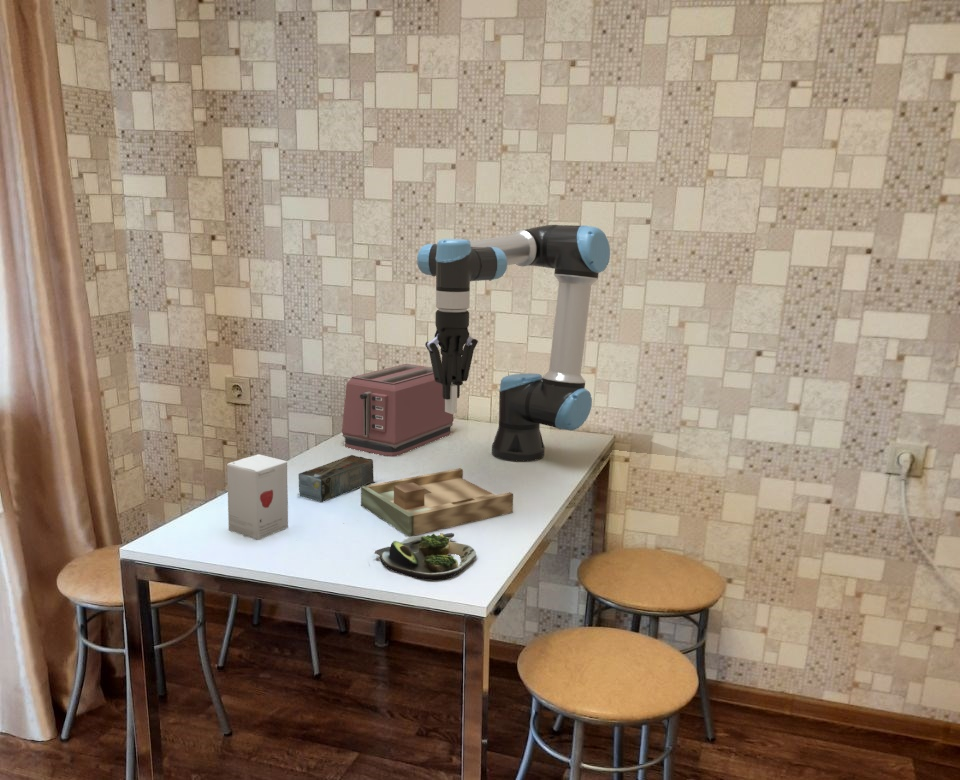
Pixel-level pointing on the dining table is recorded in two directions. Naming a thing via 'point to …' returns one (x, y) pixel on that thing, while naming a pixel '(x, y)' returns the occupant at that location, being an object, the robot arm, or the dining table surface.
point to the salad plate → (427, 556)
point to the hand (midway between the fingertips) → (450, 412)
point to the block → (409, 496)
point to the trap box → (435, 503)
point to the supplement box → (257, 496)
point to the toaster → (394, 410)
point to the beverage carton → (336, 478)
